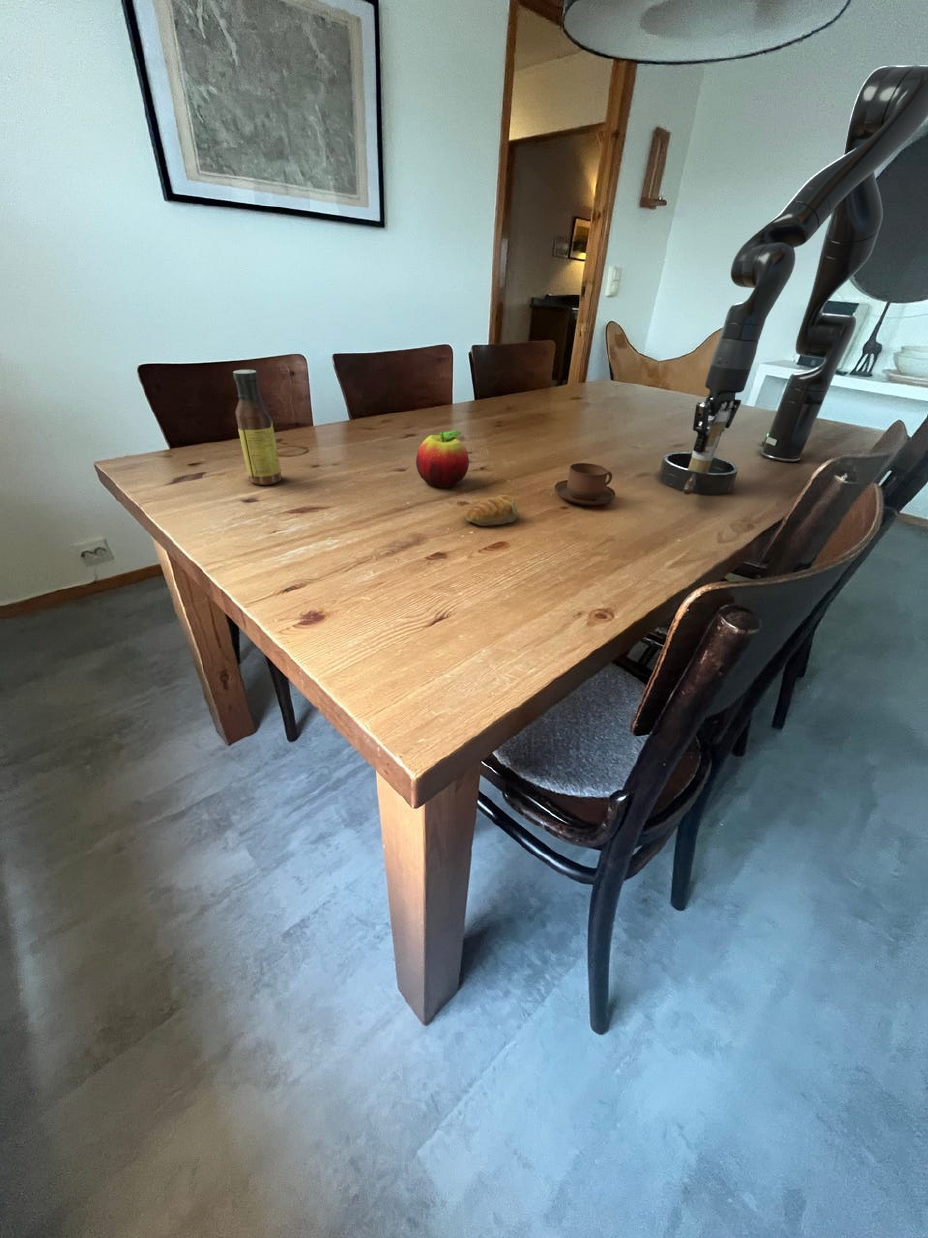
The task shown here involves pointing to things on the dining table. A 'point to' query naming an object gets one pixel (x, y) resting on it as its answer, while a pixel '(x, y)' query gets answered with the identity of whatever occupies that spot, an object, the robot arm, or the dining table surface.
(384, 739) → the dining table surface
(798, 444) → the robot arm
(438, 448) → the fruit
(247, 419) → the sauce bottle
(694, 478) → the pan handle
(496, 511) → the pastry
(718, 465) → the pan
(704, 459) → the sprinkles bottle
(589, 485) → the cup and saucer
